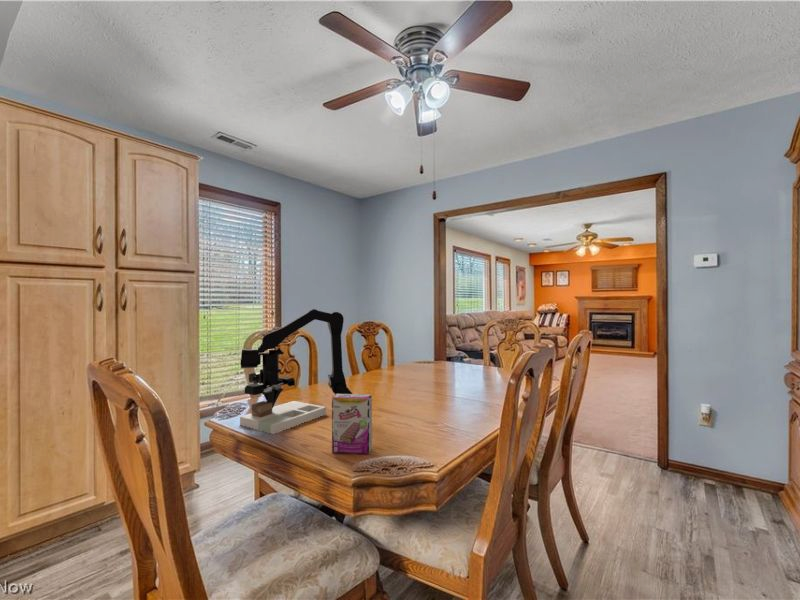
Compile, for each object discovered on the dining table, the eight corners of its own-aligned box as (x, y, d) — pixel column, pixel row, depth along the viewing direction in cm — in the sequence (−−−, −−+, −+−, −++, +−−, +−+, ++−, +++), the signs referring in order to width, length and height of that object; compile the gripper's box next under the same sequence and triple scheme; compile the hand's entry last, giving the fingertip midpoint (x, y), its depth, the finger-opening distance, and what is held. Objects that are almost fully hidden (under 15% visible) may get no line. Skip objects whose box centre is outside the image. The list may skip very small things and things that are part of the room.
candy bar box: (331, 454, 110) (331, 397, 110) (336, 447, 115) (335, 393, 115) (369, 455, 109) (369, 398, 109) (372, 448, 114) (372, 393, 114)
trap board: (326, 414, 148) (326, 407, 148) (273, 434, 127) (273, 425, 127) (294, 407, 158) (294, 400, 158) (239, 425, 137) (239, 416, 137)
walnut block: (272, 413, 140) (272, 402, 140) (260, 417, 136) (260, 406, 136) (263, 411, 142) (263, 400, 142) (251, 415, 138) (251, 404, 138)
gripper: (276, 361, 155) (277, 399, 155) (235, 368, 139) (235, 411, 139) (295, 363, 149) (296, 403, 149) (254, 371, 133) (254, 416, 133)
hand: (271, 408), depth 143 cm, fingers closed
